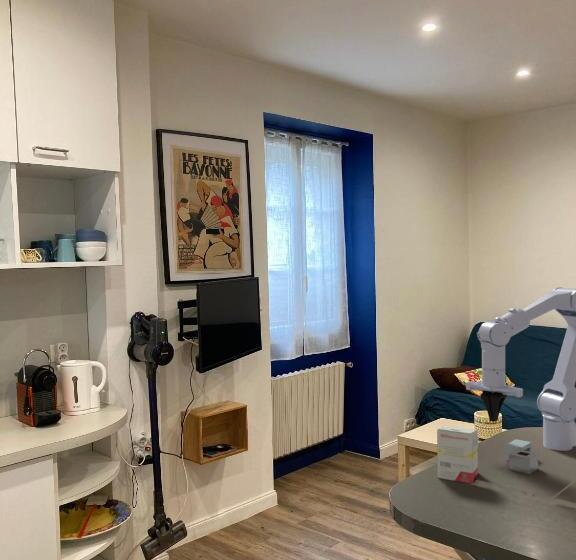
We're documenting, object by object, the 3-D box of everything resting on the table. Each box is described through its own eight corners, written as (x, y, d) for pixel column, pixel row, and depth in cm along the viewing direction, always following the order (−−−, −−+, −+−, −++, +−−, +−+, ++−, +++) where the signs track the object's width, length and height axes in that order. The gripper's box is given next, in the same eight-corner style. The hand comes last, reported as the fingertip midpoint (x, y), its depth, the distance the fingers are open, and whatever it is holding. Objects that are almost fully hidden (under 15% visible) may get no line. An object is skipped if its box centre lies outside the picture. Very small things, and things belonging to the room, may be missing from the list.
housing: (516, 454, 157) (516, 439, 157) (531, 457, 155) (531, 442, 154) (505, 460, 153) (505, 444, 153) (521, 463, 150) (521, 447, 150)
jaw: (517, 465, 150) (517, 449, 150) (538, 469, 146) (538, 453, 146) (508, 470, 146) (508, 454, 146) (529, 475, 143) (529, 458, 143)
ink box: (479, 478, 144) (478, 428, 144) (473, 484, 140) (472, 433, 140) (443, 471, 149) (443, 423, 149) (436, 478, 145) (436, 428, 145)
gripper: (460, 367, 160) (460, 418, 160) (514, 374, 150) (514, 428, 150) (473, 364, 165) (473, 413, 165) (526, 370, 155) (526, 423, 155)
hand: (493, 420), depth 158 cm, fingers closed
